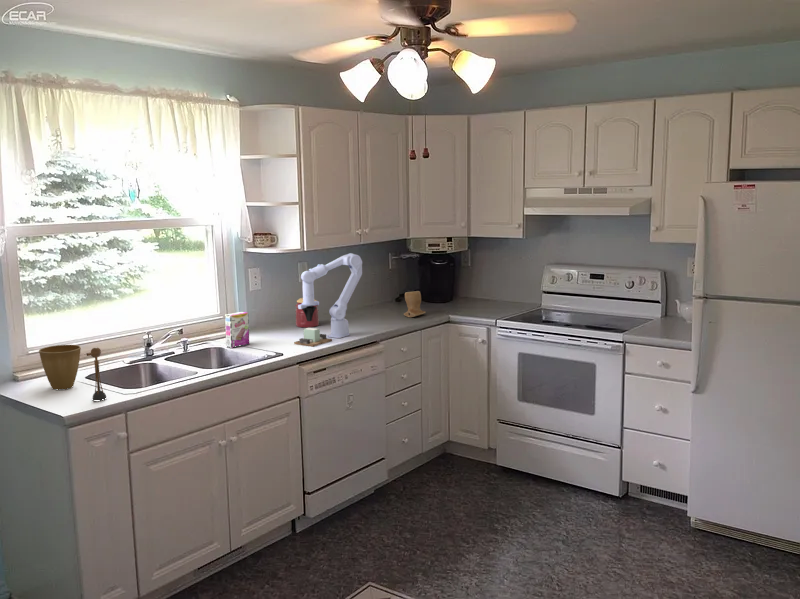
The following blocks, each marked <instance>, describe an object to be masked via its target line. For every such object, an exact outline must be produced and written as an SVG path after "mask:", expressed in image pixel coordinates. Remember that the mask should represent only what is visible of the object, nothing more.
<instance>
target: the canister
mask: <svg viewBox="0 0 800 599" xmlns="http://www.w3.org/2000/svg"><path fill="white" fill-rule="evenodd" d="M314 301H318V300H317V299H315V298H314ZM296 302H297V303H296V304H295V306H294V307H295V325H296V327H298V328H315V327H318V326H319V323H320V320H319V308H318V306H319V305H315V306H313V307H316V309H315V311H314V313H313V317H312V321H307V319H306V316H305V313H304V311H303V310H302V309H298V305H300V304H302V303H303V297H300V298H298V299H297V300H296Z"/></svg>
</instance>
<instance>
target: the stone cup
mask: <svg viewBox="0 0 800 599" xmlns="http://www.w3.org/2000/svg"><path fill="white" fill-rule="evenodd" d="M404 300H405V302H406V306H407V311H406V312H404V313H403V316H405V317H407V318H415V317H419V316H421V315H424V314H426V311H424V310H422V309H421V303H422V294H421V291H419V290H416V291H407V292H405V293H404Z"/></svg>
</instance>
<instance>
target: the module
mask: <svg viewBox="0 0 800 599" xmlns="http://www.w3.org/2000/svg"><path fill="white" fill-rule="evenodd" d="M320 331H321V330H320V328H315V327H304V328H303V338H304V339H312V340H313V342H317V341H320V334H321V332H320Z"/></svg>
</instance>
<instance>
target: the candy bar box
mask: <svg viewBox="0 0 800 599" xmlns="http://www.w3.org/2000/svg"><path fill="white" fill-rule="evenodd" d="M249 324H250V320H249V312H247V311H238V312H233V313H232V312H231V313H226V314H224V327H225V329H224V330H225V347H226V346H227V347H226V348H228V347H230V348H229V349H234V348H233V347H235V346H239V345H244V346H247V345H246V344H249V345H250V325H249ZM235 348H236V347H235Z"/></svg>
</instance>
